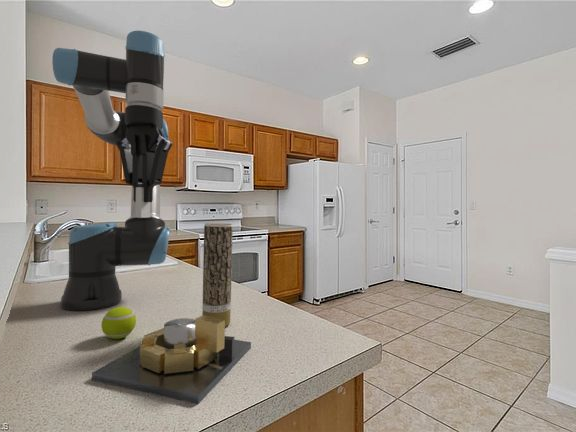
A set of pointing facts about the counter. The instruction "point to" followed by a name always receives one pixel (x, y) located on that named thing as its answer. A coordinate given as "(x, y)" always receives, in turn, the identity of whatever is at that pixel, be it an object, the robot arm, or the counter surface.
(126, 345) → the counter surface
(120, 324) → the tennis ball
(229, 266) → the bark textured cylinder
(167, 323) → the housing
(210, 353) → the ring nut
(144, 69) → the robot arm
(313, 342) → the counter surface
